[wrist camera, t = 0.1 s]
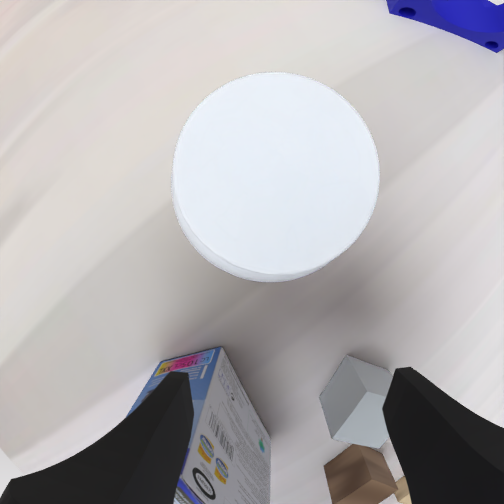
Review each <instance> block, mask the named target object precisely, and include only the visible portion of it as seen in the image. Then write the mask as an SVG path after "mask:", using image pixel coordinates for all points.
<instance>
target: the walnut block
mask: <svg viewBox="0 0 504 504" xmlns="http://www.w3.org/2000/svg"><path fill="white" fill-rule="evenodd" d="M324 470H325V474H326V478H327V482H328V487H329V491H330V495H331V500H332V504H378V503H380V502H381V501H383V500H384V499H386V498H387V497H389V496H390V495H392V494H393V493H394V492H396V491H397V490H399V489H398V487H397V485H396V483H395V480H394V478H393V476H392V474H391V472H390V469H389V467H388V465H387V463H386V461H385V459H384V457H383V454H381V453H379V452H377V451H375V450H374V449H372V448H370V447H367V446H362V445H357V444H352V445H351V446H349V447H348V448H347V449H345V450H344V451H343V452H342V453H340V454H339V455H338V456H336V457H335V458H334V459H332V460H331V461H330V462H328V463H327V464H326V465H324Z"/></svg>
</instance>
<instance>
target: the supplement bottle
mask: <svg viewBox="0 0 504 504" xmlns="http://www.w3.org/2000/svg"><path fill="white" fill-rule="evenodd" d="M379 182H380V166H379V159H378V153H377V149H376V146H375V143H374V140H373V138H372V135H371V133H370V131H369V129H368V127H367V125H366V124H365V122H364V120H363V119H362V117H361V116H360V114H359V113H358V112H357V111H356V110H355V108H354V107H353V106H352V105H351V104H350V103H349V102H348V101H347V100H346V99H345V98H343V97H342V96H341V95H340V94H339V93H338V92H336V91H335V90H333V89H332V88H330V87H328V86H326V85H325V84H323V83H321V82H318V81H316V80H314V79H311V78H308V77H305V76H302V75H298V74H293V73H284V72H262V73H257V74H252V75H247V76H244V77H241V78H238V79H235V80H233V81H231V82H229V83H227V84H225V85H223V86H221V87H220V88H218V89H217V90H215V91H213V92H212V93H211V94H210V95H208V96H207V97H206V98H205V99H204V100H203V101H202V102H201V103H200V104H199V106H198V107H197V108H196V109H195V110H194V111H193V112H192V114H191V115H190V116H189V117H188V119H187V121H186V123H185V125H184V127H183V129H182V131H181V133H180V135H179V138H178V141H177V144H176V148H175V153H174V159H173V167H172V175H171V194H172V202H173V206H174V210H175V214H176V217H177V219H178V222H179V224H180V226H181V228H182V230H183V232H184V234H185V236H186V237H187V239H188V240H189V242H190V243H191V244H192V246H193V247H194V248H195V249H196V250H197V251H198V252H199V253H200V254H201V255H202V256H203V257H204V258H205V259H206V260H208V261H209V262H210V263H212V264H213V265H214V266H216V267H218V268H220V269H222V270H223V271H225V272H227V273H229V274H231V275H234V276H237V277H240V278H243V279H246V280H251V281H257V282H284V281H290V280H294V279H298V278H301V277H304V276H307V275H309V274H311V273H313V272H315V271H317V270H319V269H321V268H322V267H324V266H325V265H327V264H329V263H330V262H331V261H332V260H333V259H335V258H336V257H338V256H339V255H340V254H342V253H343V252H344V251H346V250H347V249H348V248H349V247H350V246H351V245H352V244H353V243H354V242H355V241H356V240H357V238H358V237H359V236H360V235H361V233H362V232H363V230H364V229H365V227H366V225H367V224H368V222H369V220H370V217H371V215H372V213H373V210H374V208H375V204H376V201H377V197H378V192H379Z"/></svg>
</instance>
